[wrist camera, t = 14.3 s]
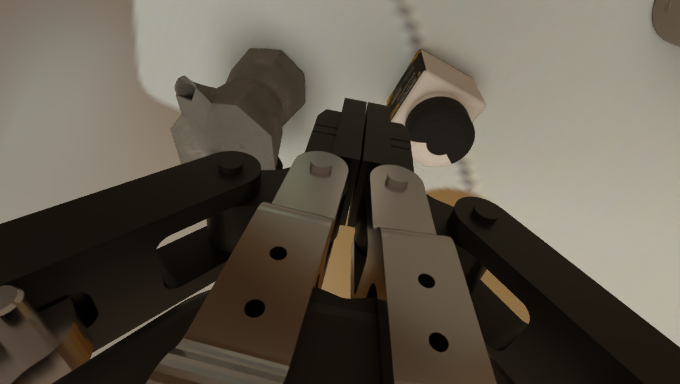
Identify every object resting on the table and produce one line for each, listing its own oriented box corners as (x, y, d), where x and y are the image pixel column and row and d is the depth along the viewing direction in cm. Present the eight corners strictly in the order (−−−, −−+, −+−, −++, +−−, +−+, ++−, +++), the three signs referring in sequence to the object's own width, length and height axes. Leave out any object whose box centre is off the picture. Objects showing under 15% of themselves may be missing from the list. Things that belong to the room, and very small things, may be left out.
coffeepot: (206, 45, 39) (107, 114, 25) (279, 14, 37) (212, 73, 23) (270, 155, 48) (221, 252, 34) (332, 136, 45) (308, 235, 31)
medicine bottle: (419, 47, 37) (430, 90, 28) (473, 78, 39) (501, 129, 29) (385, 102, 41) (385, 156, 32) (435, 128, 43) (449, 187, 34)
